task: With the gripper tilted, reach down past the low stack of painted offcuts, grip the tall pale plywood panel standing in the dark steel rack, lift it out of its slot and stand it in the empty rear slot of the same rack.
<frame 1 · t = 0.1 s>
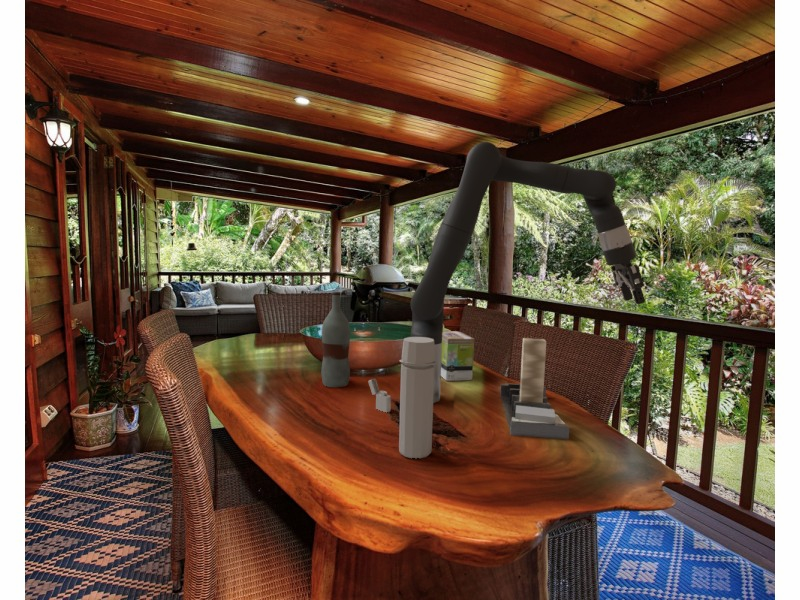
hand: (634, 301, 124), 31 cm above the table, tool tilted 20°, fingers open, 8 cm apart
lighter: (379, 409, 125), on the table
offcut stack: (536, 429, 109), resting on rack
panel: (530, 414, 120), point 1 cm above the table, touching rack
tea box: (452, 375, 162), on the table
rack: (529, 419, 120), on the table
vodka: (335, 384, 147), on the table
water bottle: (415, 452, 99), on the table
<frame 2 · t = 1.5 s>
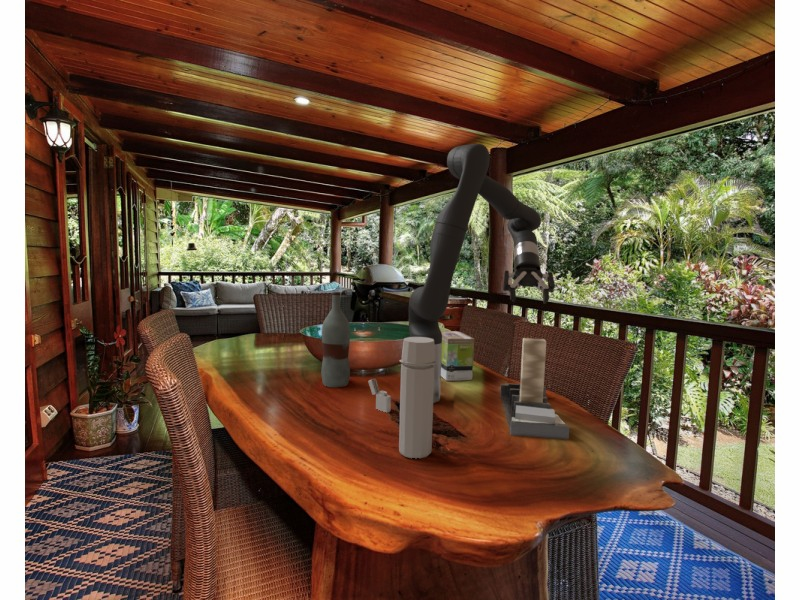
hand: (529, 301, 128), 30 cm above the table, tool tilted 45°, fingers open, 8 cm apart
nothing on the table moved.
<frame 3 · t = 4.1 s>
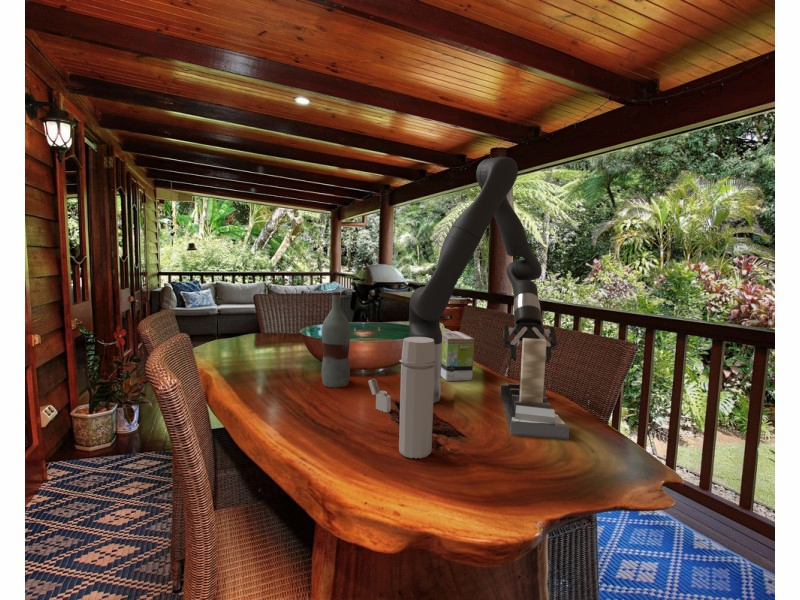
hand: (531, 360, 122), 15 cm above the table, tool tilted 45°, fingers open, 8 cm apart
nothing on the table moved.
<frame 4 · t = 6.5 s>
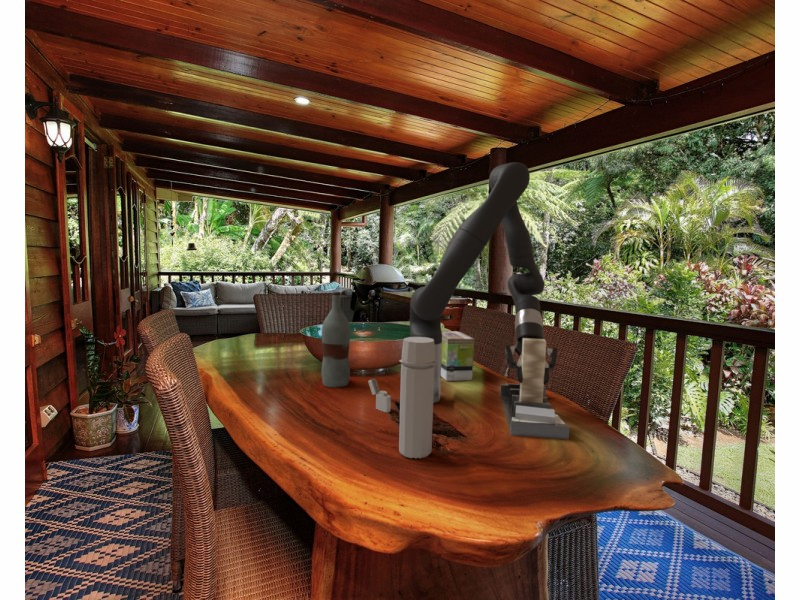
hand: (533, 382, 117), 11 cm above the table, tool tilted 45°, fingers closed on panel, 5 cm apart
panel: (530, 414, 120), point 2 cm above the table, touching gripper, rack
everything else where it was.
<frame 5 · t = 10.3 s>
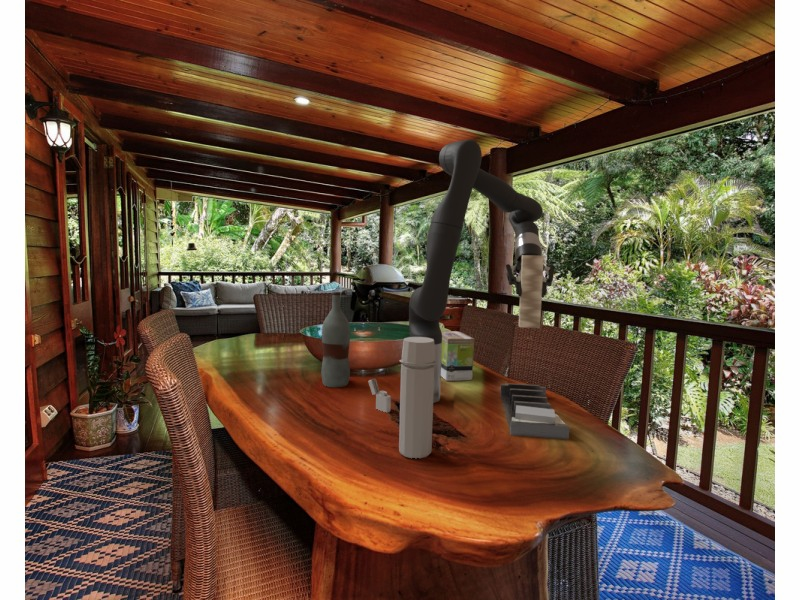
hand: (531, 294, 125), 32 cm above the table, tool tilted 45°, fingers closed on panel, 5 cm apart
panel: (529, 326, 128), point 23 cm above the table, touching gripper
everything else where it was.
when the fingers open (12 cm above the table, at t = 14.1 s): panel stays where it is, resting on rack.
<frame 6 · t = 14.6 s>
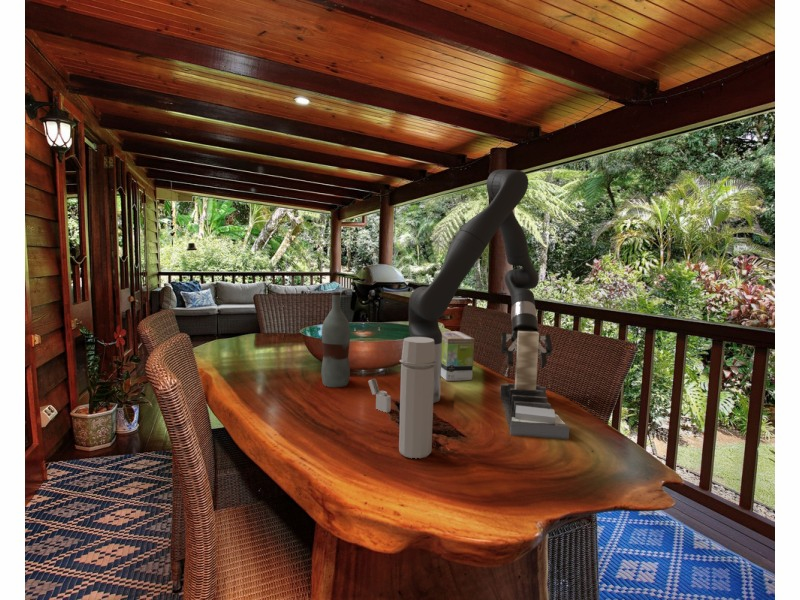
hand: (527, 365, 128), 12 cm above the table, tool tilted 45°, fingers open, 8 cm apart
panel: (524, 400, 131), point 1 cm above the table, touching rack
everything else where it was.
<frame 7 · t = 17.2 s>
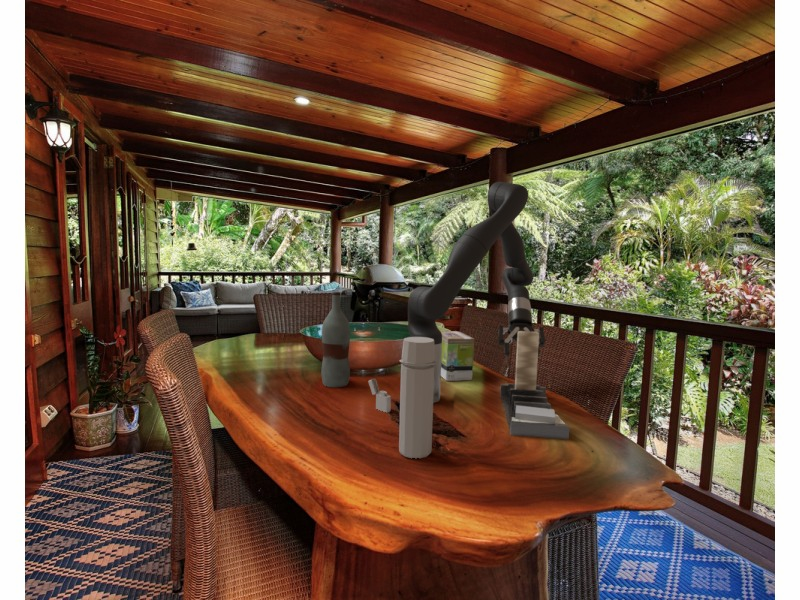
hand: (522, 356, 140), 12 cm above the table, tool tilted 45°, fingers open, 8 cm apart
nothing on the table moved.
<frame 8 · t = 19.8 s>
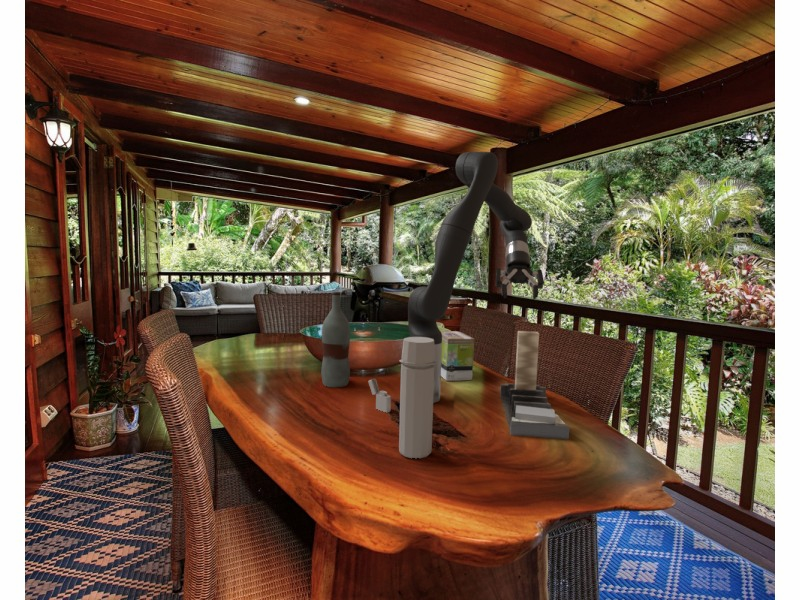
hand: (520, 296, 136), 31 cm above the table, tool tilted 45°, fingers open, 8 cm apart
nothing on the table moved.
at the end: panel 0.1 cm from the target spot on the rack, point 1.5 cm above the rack's base; panel tilted 0°; the gripper is holding nothing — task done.
